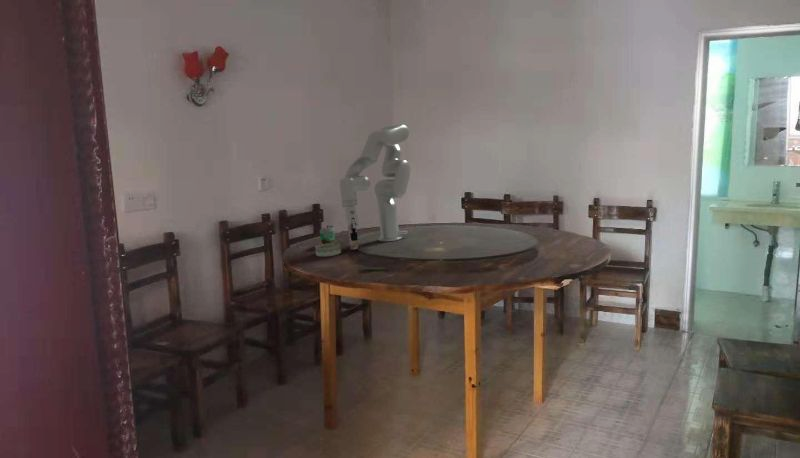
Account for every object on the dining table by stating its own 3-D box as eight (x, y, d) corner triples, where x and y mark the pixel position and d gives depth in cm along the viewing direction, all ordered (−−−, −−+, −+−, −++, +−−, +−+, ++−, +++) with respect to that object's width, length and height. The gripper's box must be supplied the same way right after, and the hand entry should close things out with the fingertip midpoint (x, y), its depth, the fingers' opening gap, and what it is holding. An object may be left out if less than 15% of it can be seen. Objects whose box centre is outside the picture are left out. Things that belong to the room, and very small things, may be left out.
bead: (338, 249, 316) (337, 242, 315) (342, 254, 304) (341, 246, 303) (315, 253, 313) (314, 245, 312) (317, 257, 301) (317, 249, 301)
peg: (357, 248, 314) (354, 221, 311) (359, 250, 310) (356, 222, 308) (350, 249, 313) (347, 222, 311) (351, 251, 309) (348, 223, 307)
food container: (333, 248, 322) (330, 228, 320) (321, 248, 323) (319, 229, 322) (340, 243, 334) (337, 224, 332) (329, 243, 335) (326, 225, 333)
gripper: (360, 204, 300) (364, 241, 303) (354, 200, 316) (357, 236, 319) (344, 206, 299) (349, 243, 302) (339, 202, 315) (343, 238, 318)
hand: (353, 239), depth 311 cm, fingers closed on peg, 4 cm apart
